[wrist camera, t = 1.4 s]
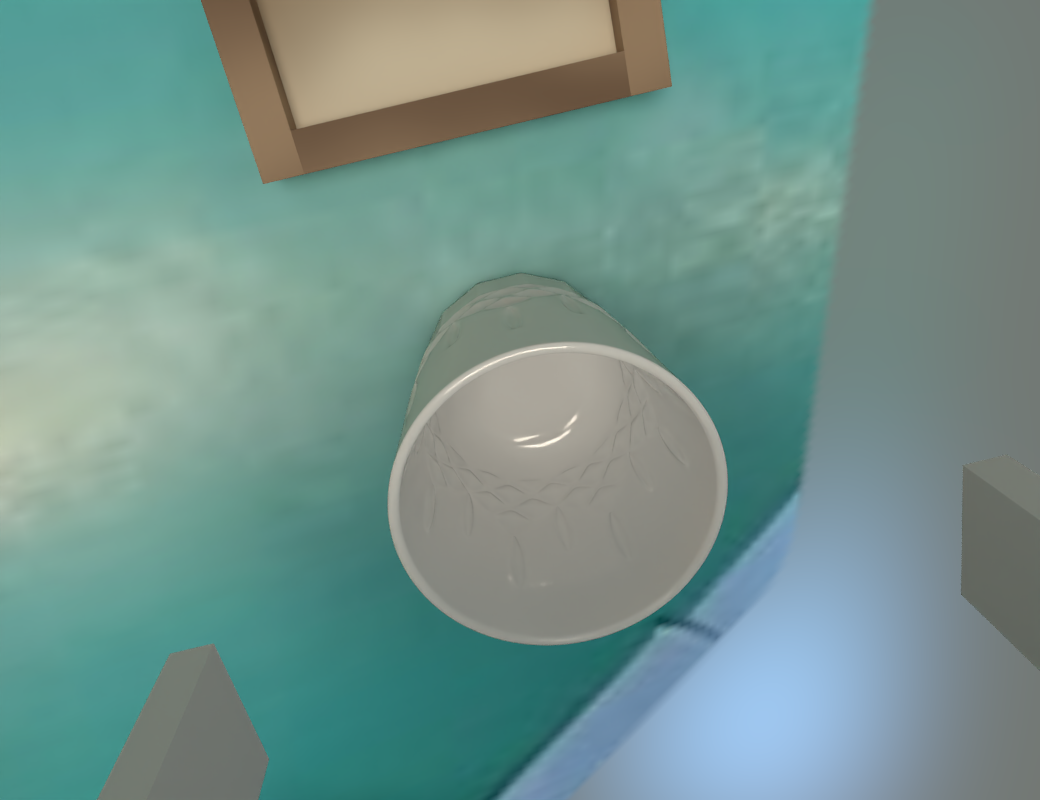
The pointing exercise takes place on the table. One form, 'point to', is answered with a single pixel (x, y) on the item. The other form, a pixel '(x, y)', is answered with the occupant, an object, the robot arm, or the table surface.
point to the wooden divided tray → (422, 69)
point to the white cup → (550, 469)
